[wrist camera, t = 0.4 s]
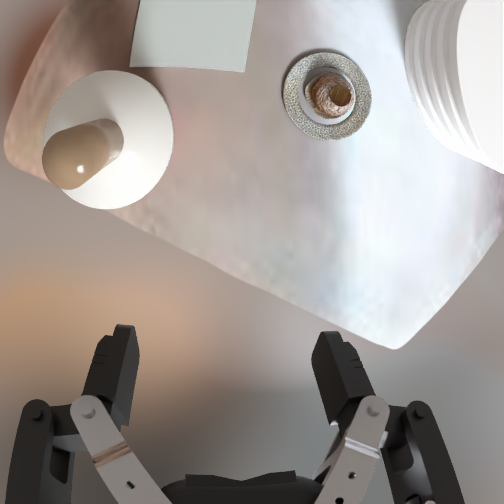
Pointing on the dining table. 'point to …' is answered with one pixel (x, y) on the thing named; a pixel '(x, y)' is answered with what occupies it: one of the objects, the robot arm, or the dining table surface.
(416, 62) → the plate stack
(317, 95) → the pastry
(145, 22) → the rubber mat
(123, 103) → the cup lid
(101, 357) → the robot arm
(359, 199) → the dining table surface
